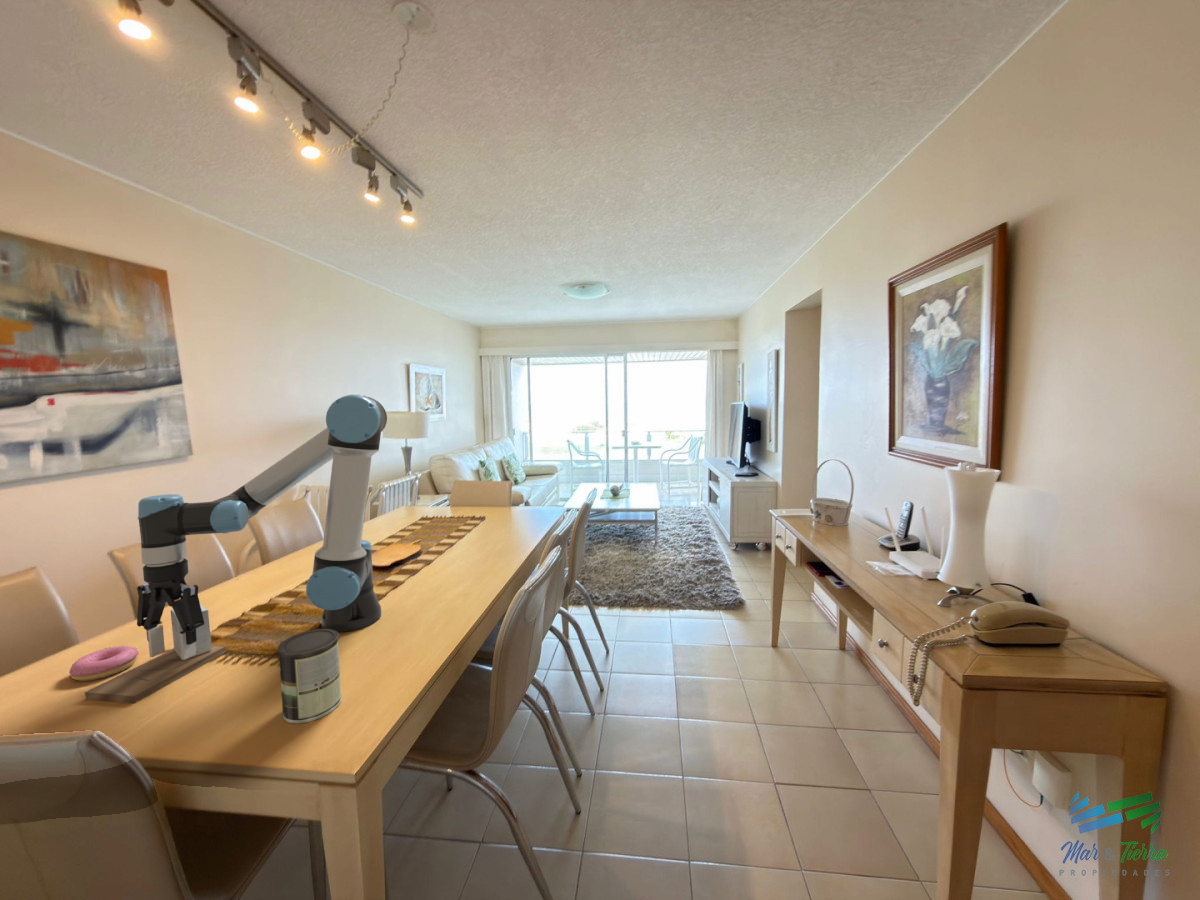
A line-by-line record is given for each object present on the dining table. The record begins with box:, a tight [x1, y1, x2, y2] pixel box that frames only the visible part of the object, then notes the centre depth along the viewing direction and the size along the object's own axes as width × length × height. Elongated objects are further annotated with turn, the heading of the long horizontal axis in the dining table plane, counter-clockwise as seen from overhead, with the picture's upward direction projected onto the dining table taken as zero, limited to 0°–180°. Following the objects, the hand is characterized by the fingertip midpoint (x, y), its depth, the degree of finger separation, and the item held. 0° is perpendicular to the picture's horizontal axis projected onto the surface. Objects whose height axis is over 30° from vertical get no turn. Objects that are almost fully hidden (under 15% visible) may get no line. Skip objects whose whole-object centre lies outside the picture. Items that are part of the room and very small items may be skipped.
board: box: [84, 645, 227, 704], centre depth 104 cm, size 12×20×2 cm, turn 173°
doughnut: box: [69, 645, 139, 682], centre depth 106 cm, size 11×11×4 cm
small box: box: [170, 603, 212, 659], centre depth 110 cm, size 8×6×10 cm
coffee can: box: [277, 628, 343, 725], centre depth 91 cm, size 10×10×14 cm
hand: (173, 655), depth 106 cm, fingers open, 8 cm apart
